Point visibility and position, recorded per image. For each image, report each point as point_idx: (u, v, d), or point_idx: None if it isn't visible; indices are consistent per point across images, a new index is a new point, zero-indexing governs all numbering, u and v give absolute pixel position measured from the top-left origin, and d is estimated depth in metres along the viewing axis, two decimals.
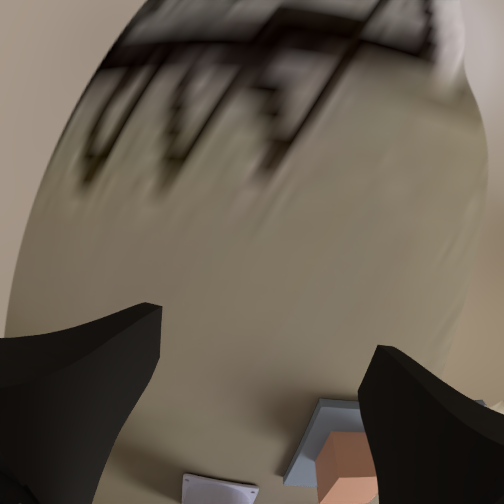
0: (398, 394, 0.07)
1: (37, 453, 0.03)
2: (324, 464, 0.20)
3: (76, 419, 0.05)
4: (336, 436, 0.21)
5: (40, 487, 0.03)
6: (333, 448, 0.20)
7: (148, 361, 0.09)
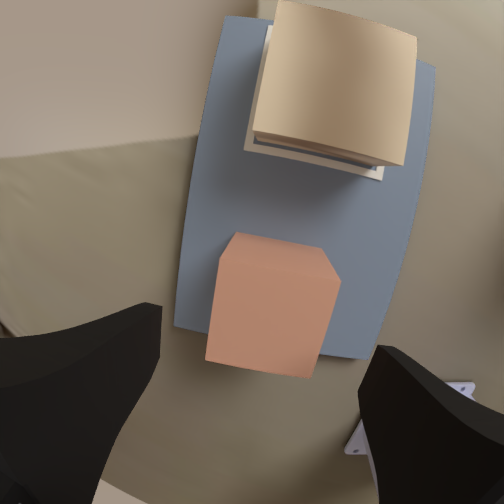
0: (398, 394, 0.07)
1: (37, 453, 0.03)
2: None
3: (76, 419, 0.05)
4: None
5: (40, 487, 0.03)
6: None
7: (148, 361, 0.09)
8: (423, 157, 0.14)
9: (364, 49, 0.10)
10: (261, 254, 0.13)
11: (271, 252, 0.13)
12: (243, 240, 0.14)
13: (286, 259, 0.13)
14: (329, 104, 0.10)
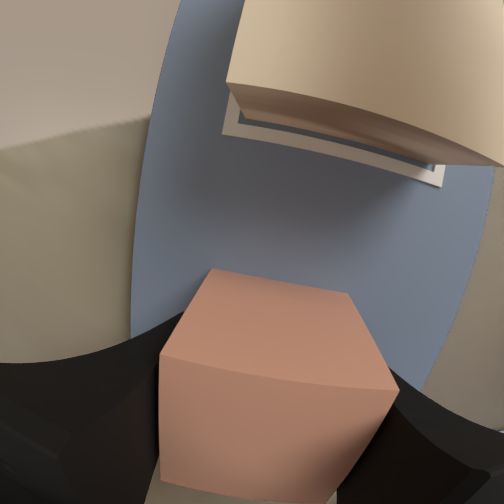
0: None
1: (106, 486, 0.03)
2: None
3: (135, 442, 0.05)
4: None
5: None
6: None
7: None
8: None
9: None
10: (248, 329, 0.07)
11: (267, 319, 0.07)
12: (219, 290, 0.08)
13: (295, 338, 0.07)
14: (383, 38, 0.04)
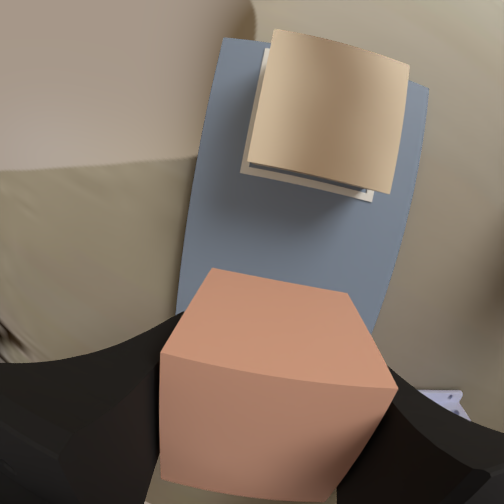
0: None
1: (106, 486, 0.03)
2: None
3: (135, 442, 0.05)
4: None
5: None
6: None
7: None
8: (413, 179, 0.15)
9: (356, 80, 0.11)
10: (248, 328, 0.07)
11: (267, 318, 0.07)
12: (220, 289, 0.08)
13: (294, 337, 0.07)
14: (321, 135, 0.11)
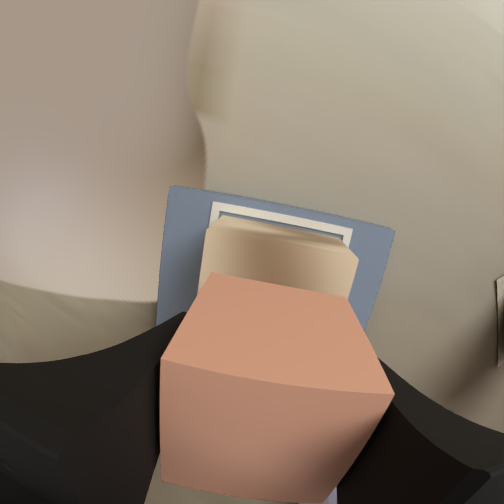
0: None
1: (106, 486, 0.03)
2: None
3: (135, 442, 0.05)
4: None
5: None
6: None
7: None
8: (363, 327, 0.17)
9: (293, 287, 0.12)
10: (247, 333, 0.07)
11: (266, 324, 0.07)
12: (219, 294, 0.08)
13: (293, 342, 0.07)
14: None
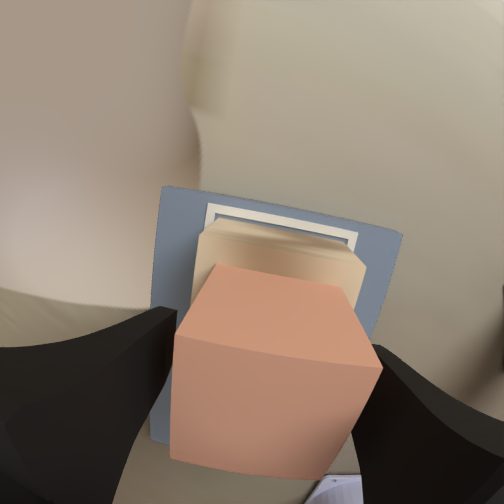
0: (382, 393, 0.07)
1: (62, 467, 0.03)
2: None
3: (98, 428, 0.05)
4: None
5: (64, 500, 0.03)
6: None
7: (163, 365, 0.09)
8: (368, 335, 0.16)
9: None
10: (250, 315, 0.08)
11: (267, 307, 0.08)
12: (224, 282, 0.09)
13: (291, 322, 0.08)
14: None
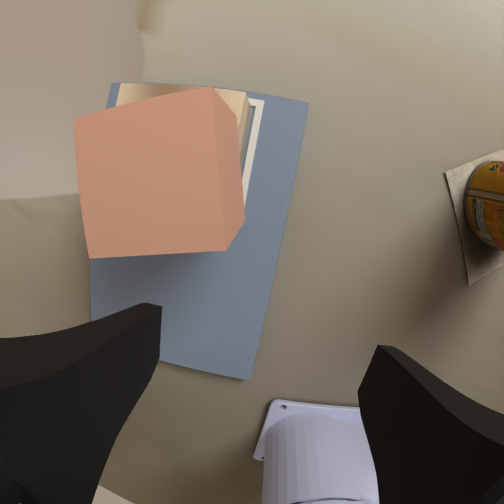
0: (398, 394, 0.07)
1: (37, 453, 0.03)
2: None
3: (76, 419, 0.05)
4: None
5: (40, 487, 0.03)
6: None
7: (148, 361, 0.09)
8: (287, 201, 0.17)
9: None
10: None
11: None
12: None
13: None
14: None
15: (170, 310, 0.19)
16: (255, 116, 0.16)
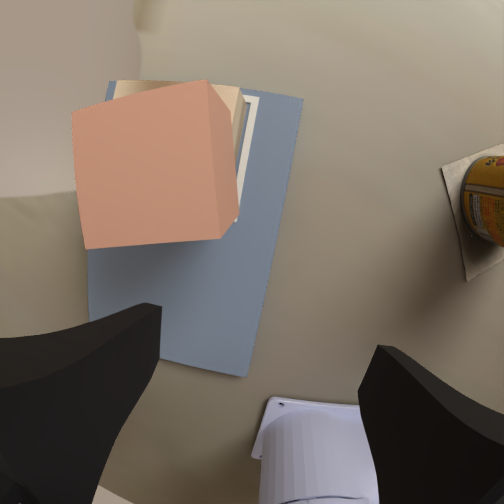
0: (398, 394, 0.07)
1: (37, 453, 0.03)
2: None
3: (76, 419, 0.05)
4: None
5: (40, 487, 0.03)
6: None
7: (148, 361, 0.09)
8: (282, 196, 0.17)
9: None
10: None
11: None
12: None
13: None
14: None
15: (167, 306, 0.19)
16: (250, 112, 0.16)
